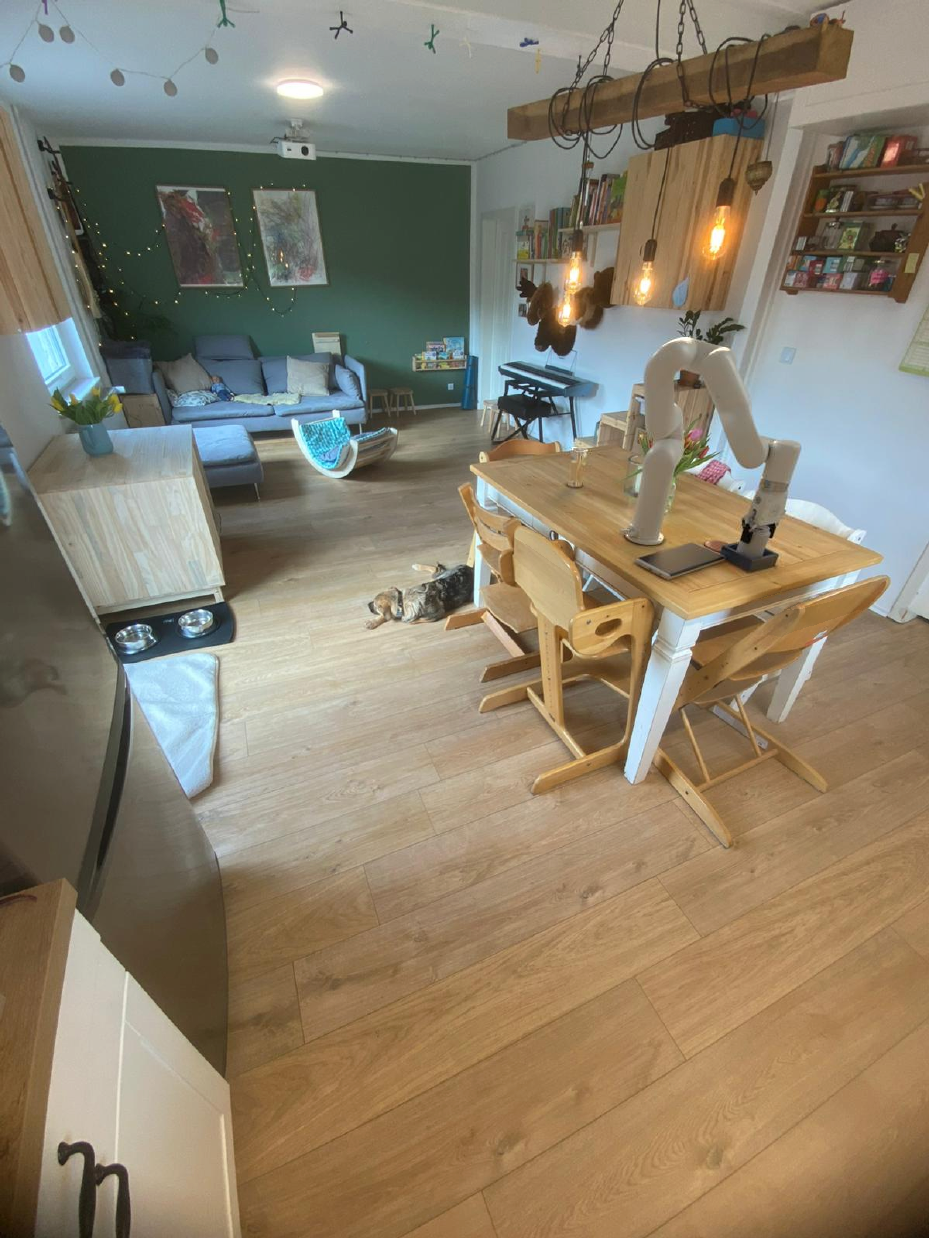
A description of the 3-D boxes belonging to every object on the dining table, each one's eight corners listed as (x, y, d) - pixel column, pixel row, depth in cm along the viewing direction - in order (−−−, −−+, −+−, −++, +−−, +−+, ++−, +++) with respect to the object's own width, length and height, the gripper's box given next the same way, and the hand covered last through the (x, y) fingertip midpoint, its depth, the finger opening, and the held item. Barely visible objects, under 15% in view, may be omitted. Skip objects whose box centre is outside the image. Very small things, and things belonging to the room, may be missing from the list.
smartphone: (633, 563, 164) (634, 558, 163) (690, 545, 176) (692, 540, 175) (667, 581, 154) (668, 576, 154) (725, 561, 167) (727, 556, 166)
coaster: (719, 554, 171) (720, 553, 170) (699, 544, 177) (700, 542, 177) (738, 550, 174) (739, 549, 173) (718, 540, 180) (718, 538, 180)
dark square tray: (748, 572, 161) (752, 560, 158) (718, 556, 169) (722, 545, 167) (774, 566, 165) (779, 554, 163) (744, 550, 174) (748, 539, 171)
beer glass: (585, 484, 225) (590, 448, 217) (579, 488, 220) (584, 452, 212) (570, 481, 228) (574, 446, 220) (563, 485, 223) (568, 449, 215)
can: (733, 563, 165) (745, 528, 159) (733, 554, 171) (744, 519, 165) (760, 568, 163) (773, 532, 156) (758, 558, 169) (771, 523, 162)
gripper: (763, 493, 148) (746, 549, 157) (805, 485, 154) (786, 539, 163) (741, 485, 153) (725, 539, 162) (783, 477, 159) (765, 530, 169)
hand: (756, 539), depth 163 cm, fingers open, 9 cm apart
